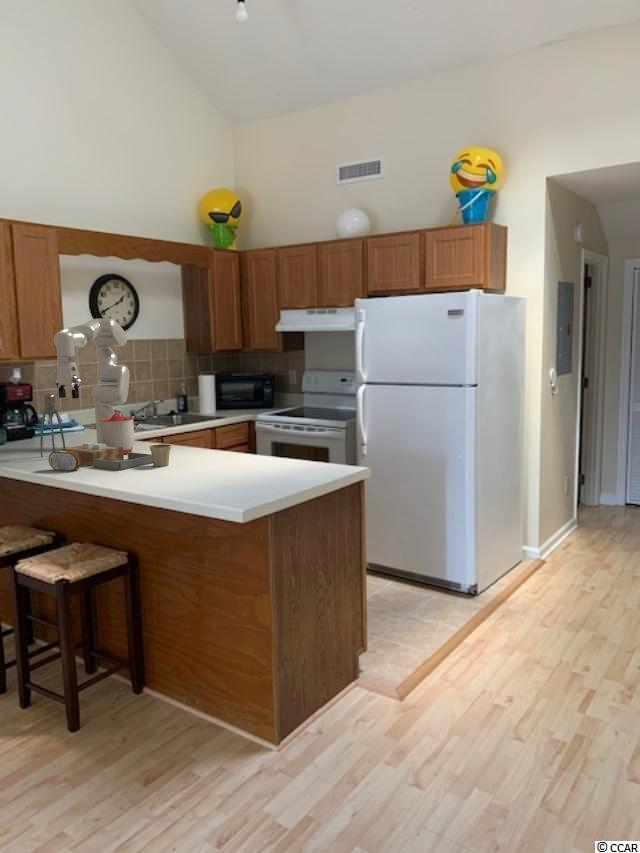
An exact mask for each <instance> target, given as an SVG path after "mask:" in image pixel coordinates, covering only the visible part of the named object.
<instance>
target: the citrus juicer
mask: <svg viewBox="0 0 640 853" xmlns="http://www.w3.org/2000/svg"><path fill="white" fill-rule="evenodd" d="M100 424H101V439H102V444H106V445H108V446H118V447H123V455H128V452H132V451H133V449H134V444H135V443H134V442H135V429H138V425H136V424H135V418H131V417H129V416H122V415H121V414H120V413H119V412H117V411H116V412H115V414H114V415H113V416H112V417H111V418H103V419H100Z"/></svg>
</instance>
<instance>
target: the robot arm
mask: <svg viewBox="0 0 640 853" xmlns="http://www.w3.org/2000/svg"><path fill="white" fill-rule="evenodd" d="M92 341H93V343H94V345H95V348H96V350H97V352H98V358H99V359H98V366H97V367H98V368H97V380H98V382H99V383H101V385H97V386H94V387H93V389H92V390H91V397H92V402H93V406H94V414H95V416H94V417H95V432H96V444H100V443H101V444H102V439H101V424H100V419H103V418H111V417H112V416H113V415H114V414H115V413H116V412H115V410H114V408H113V406H111V405H120V404H121V405H123V404H125V403H126V402H127V400H128V396H129V386H130V380H131V379H130V378H131V376H130V375H131V374H130V370H129V368H128V367H127V366H126V365H124V364H117V360H118V358H117V354H116V353H115V351H114V350H113V349H112V347H114V348H115V347H117V348H118V347H120V348H121V347H123V346H125V345H126V344H127V342H128V336H127V333H126V332H125V330H124V329H123V328H122V326H121V324H119V323H118V322H117V321H116V320H115V319H114V318H107V317H106V318H93V319H91V320H89V321H87V322H85V323H82V324H79V325H76V326H72V327H67V328H64V329H60V331H58V332H56V333H55V334H54V337H53V344H54V346H55V347H56V358H57V360H56V361H57V367H56V368H57V369H56V370H57V371H56V373H57V374H56V378H55V384H56V386H57V389H58V398H59V399H62V398H63V399H64V398H66V397H67V395H66V388H65V387H66V386H70V387H71V398H72V399H79V398H80V394H79V390H80V387H81V382H82V380H81V379H80V376H79V371H78V370H79V369H78V365H77V363H76V356H75V355H76V354H75V351H76V350H75V349H82V348H83V349H84V347H86V345H87V342H92ZM110 384H111V385H110Z"/></svg>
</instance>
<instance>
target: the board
mask: <svg viewBox="0 0 640 853" xmlns="http://www.w3.org/2000/svg"><path fill="white" fill-rule="evenodd" d="M61 450H64V451H75V452H76V453H78V454H79V456H80V458H81V466H82V465H83V466H92V467H93V459H100V460H108V461H120V460H125V458H124V454H123V447H118V446H108V445H106V449H100V450H97V449H93V448H89V449H88V448H83V444H82V445H76V446H72V447H71V446H70V447H65V448H61Z"/></svg>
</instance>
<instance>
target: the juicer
mask: <svg viewBox="0 0 640 853" xmlns="http://www.w3.org/2000/svg"><path fill="white" fill-rule="evenodd" d="M43 402H44V407H45V409H43V412H42V418H41V424H40V425H41V426H40V443H39V444H40V446H39V448H40V458H43V440H44V425H45V419H46V415H47V416H48V417H49V420H50V427H51V428H50V432H51V445H52V452H54V451H56V449H55V448H56V447H55V435H54V425H53V424H54V423H53V418H54V414H55V416H56V419H57V423H58V427H59V431H60V436H61V441H62V447H63V448H62V449H64V448H66V442H65V437H64V436H65V435H64V430H63V427H62V423H61V419H60V416H59V412H58V409H57V408H56V398H55V395H54V394H53V393H46V394H45V395H44V397H43Z"/></svg>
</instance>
